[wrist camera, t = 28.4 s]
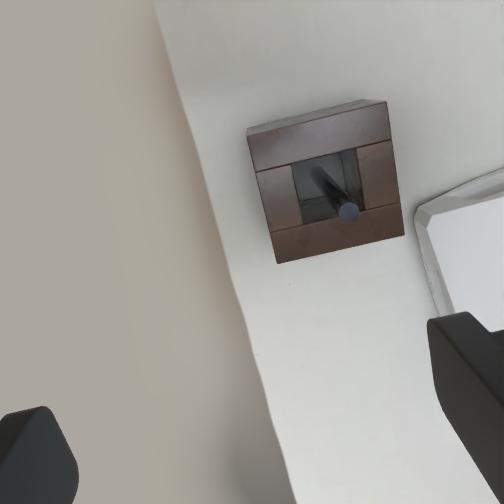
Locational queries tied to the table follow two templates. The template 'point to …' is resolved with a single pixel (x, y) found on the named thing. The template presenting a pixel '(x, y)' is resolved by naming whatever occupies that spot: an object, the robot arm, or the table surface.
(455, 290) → the document scanner
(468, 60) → the table surface
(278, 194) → the pen stand
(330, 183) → the stylus
